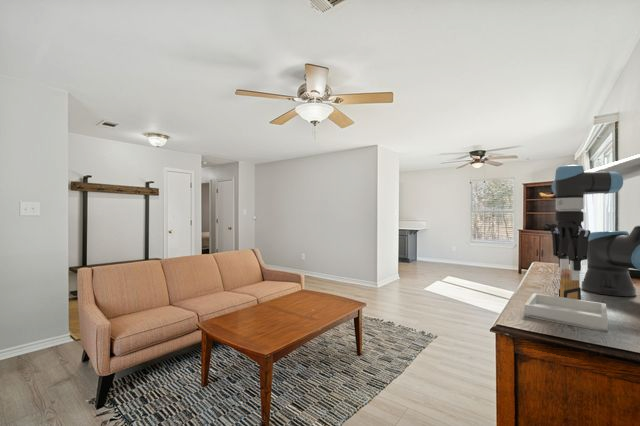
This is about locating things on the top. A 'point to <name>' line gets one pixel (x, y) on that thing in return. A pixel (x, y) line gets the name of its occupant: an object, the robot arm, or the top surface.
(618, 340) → the top surface
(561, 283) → the ammunition clip
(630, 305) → the top surface
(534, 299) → the tray
